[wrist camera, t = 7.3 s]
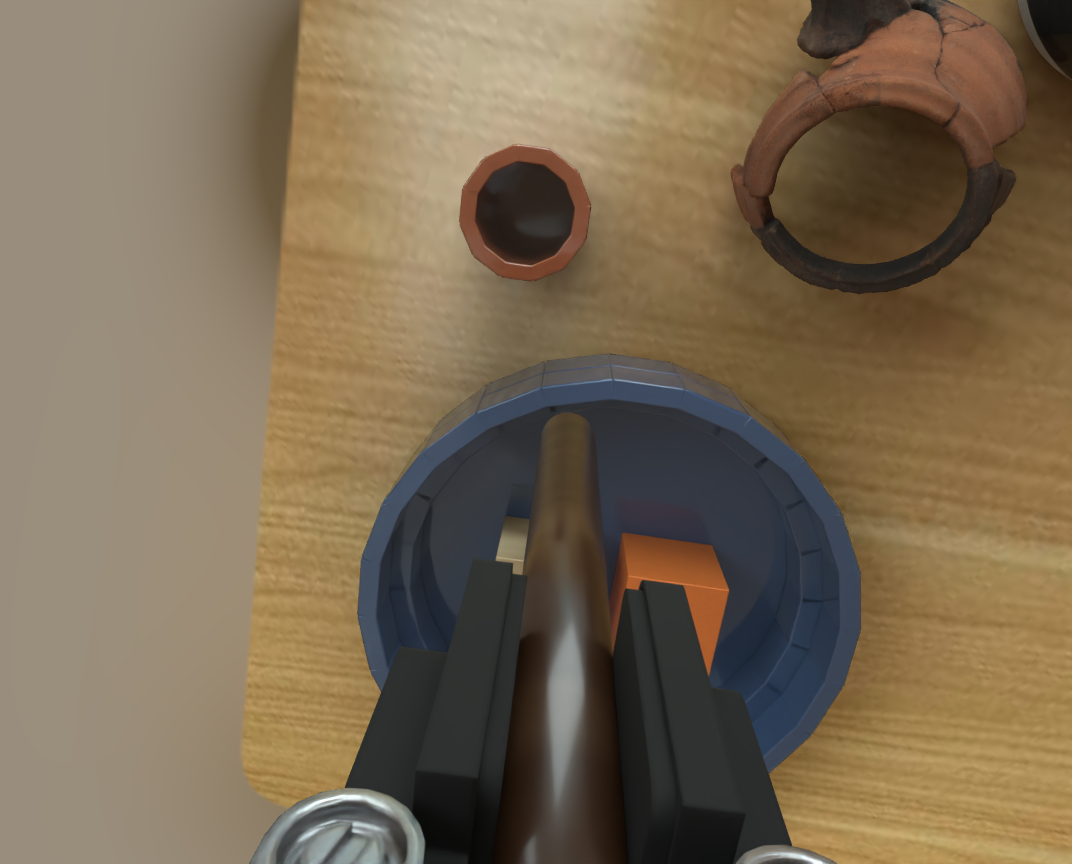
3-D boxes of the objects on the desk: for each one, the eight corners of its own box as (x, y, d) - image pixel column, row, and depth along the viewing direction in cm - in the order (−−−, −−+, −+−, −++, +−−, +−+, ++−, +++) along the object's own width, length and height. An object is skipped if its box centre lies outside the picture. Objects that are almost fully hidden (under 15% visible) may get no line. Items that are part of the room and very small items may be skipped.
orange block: (607, 611, 35) (611, 662, 31) (622, 532, 34) (628, 575, 30) (694, 623, 35) (709, 676, 31) (712, 544, 34) (729, 590, 30)
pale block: (494, 594, 35) (484, 644, 31) (505, 515, 34) (496, 556, 30) (581, 607, 35) (582, 658, 31) (595, 527, 34) (597, 571, 30)
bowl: (374, 711, 38) (345, 786, 33) (405, 321, 32) (375, 344, 27) (766, 768, 38) (793, 852, 33) (872, 387, 32) (924, 422, 27)
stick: (538, 452, 21) (436, 1212, 5) (545, 403, 20) (452, 1075, 5) (590, 459, 20) (637, 1243, 5) (598, 409, 20) (671, 1105, 5)
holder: (480, 253, 31) (453, 270, 24) (491, 148, 30) (467, 136, 23) (578, 266, 31) (579, 288, 24) (593, 162, 30) (598, 155, 23)
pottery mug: (1036, 156, 29) (1068, 269, 24) (790, 238, 35) (769, 345, 29) (960, -194, 23) (980, -155, 18) (680, -31, 29) (628, 38, 23)
